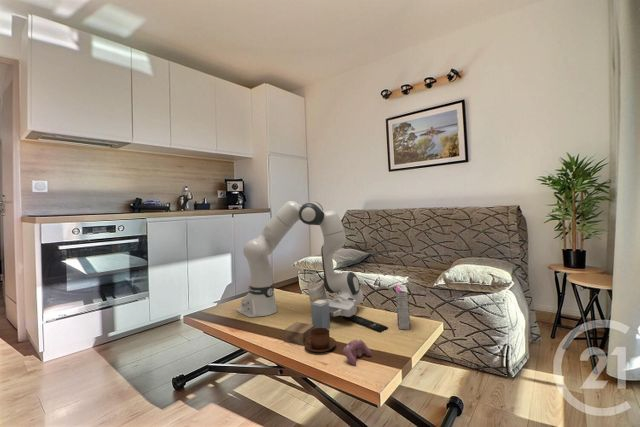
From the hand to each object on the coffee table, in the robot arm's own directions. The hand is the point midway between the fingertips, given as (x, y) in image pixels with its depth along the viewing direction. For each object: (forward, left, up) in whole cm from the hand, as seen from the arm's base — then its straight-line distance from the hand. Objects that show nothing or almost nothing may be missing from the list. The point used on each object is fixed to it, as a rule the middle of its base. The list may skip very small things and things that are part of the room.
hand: (324, 312), depth 137 cm
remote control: (+13, +12, -7) cm, 19 cm away
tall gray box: (0, -3, -6) cm, 7 cm away
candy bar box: (+29, +19, -6) cm, 35 cm away
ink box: (-15, +17, -5) cm, 23 cm away
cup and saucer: (+11, -17, -6) cm, 21 cm away
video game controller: (+27, -17, -6) cm, 33 cm away
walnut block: (-1, -16, -6) cm, 17 cm away
